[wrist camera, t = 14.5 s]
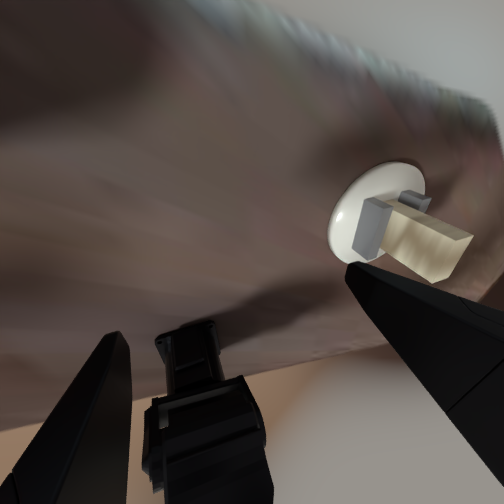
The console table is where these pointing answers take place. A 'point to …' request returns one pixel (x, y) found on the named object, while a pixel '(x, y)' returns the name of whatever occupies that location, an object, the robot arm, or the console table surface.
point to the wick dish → (373, 209)
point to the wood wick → (423, 242)
